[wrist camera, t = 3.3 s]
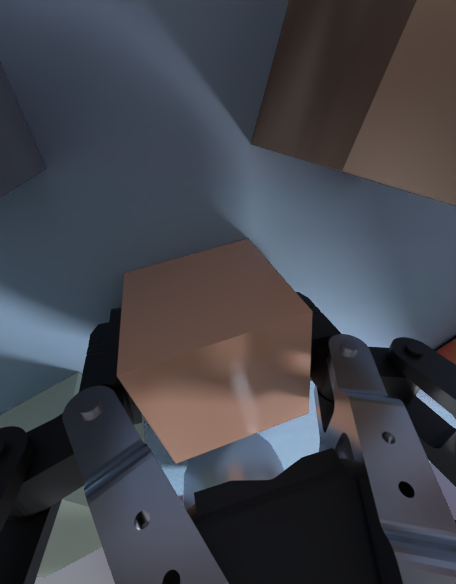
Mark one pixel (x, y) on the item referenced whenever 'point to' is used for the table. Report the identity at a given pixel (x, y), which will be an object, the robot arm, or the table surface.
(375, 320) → the table surface
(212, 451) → the plastic bottle
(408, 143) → the walnut cube
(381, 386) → the robot arm
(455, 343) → the cracker box
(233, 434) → the terracotta cube
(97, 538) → the sage cube
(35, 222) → the table surface
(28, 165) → the charcoal cube
